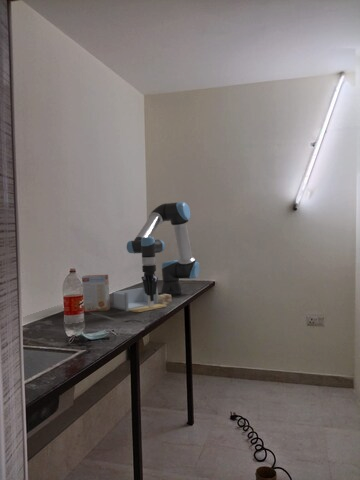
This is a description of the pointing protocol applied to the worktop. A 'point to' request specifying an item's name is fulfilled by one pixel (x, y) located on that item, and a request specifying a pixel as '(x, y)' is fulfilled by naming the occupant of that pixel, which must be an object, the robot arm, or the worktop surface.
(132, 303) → the pale blue open box
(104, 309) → the cracker box
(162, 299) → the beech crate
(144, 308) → the panel
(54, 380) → the worktop surface
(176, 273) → the robot arm
